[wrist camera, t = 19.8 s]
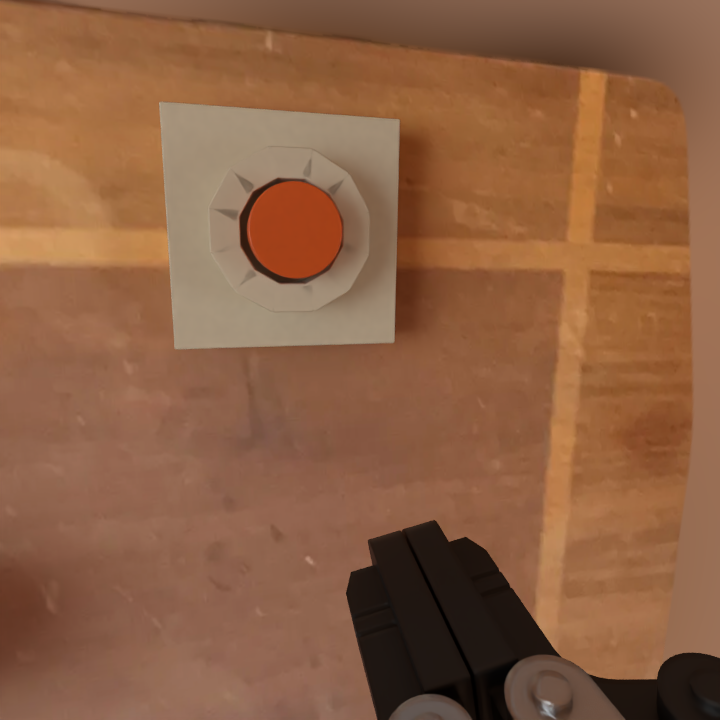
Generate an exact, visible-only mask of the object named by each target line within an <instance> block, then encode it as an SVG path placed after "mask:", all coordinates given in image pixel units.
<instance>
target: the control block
mask: <svg viewBox="0 0 720 720" xmlns="http://www.w3.org/2000/svg"><path fill="white" fill-rule="evenodd" d="M159 107H160V123H161V139H162V155H163V170H164V186H165V202H166V218H167V234H168V250H169V265H170V281H171V297H172V313H173V329H174V344H175V349H206V348H240V347H273V346H307V345H340V344H374V343H394V341H395V301H396V261H397V221H398V181H399V141H400V120H399V119H389V118H376V117H362V116H349V115H335V114H322V113H308V112H295V111H282V110H268V109H255V108H241V107H228V106H214V105H201V104H188V103H174V102H159ZM287 181H300V182H305V183H308V184H311V185H313V186H315V187H317V188H319V189H320V190H322V191H323V192H324V193H325V194H326V195H328V196H329V198H330V199H331V200H332V201H333V203H334V204H335V206H336V208H337V210H338V212H339V214H340V218H341V222H342V231H343V232H342V241H341V245H340V248H339V251H338V253H337V255H336V257H335V258H334V260H333V261H332V262H331V263H330V265H329V266H327V267H326V268H325V269H324V270H323V271H321V272H320V273H318V274H316V275H313V276H310V277H306V278H299V279H295V278H287V277H283V276H280V275H278V274H276V273H274V272H272V271H270V270H268V269H267V268H265V267H264V266H263V265H262V264H261V263H260V262H259V261H258V260H257V259H256V257H255V256H254V254H253V252H252V250H251V248H250V245H249V242H248V238H247V222H248V218H249V214H250V211H251V209H252V207H253V205H254V203H255V202H256V200H257V199H258V197H259V196H260V195H261V194H262V193H263V192H264V191H266V190H267V189H268V188H270V187H272V186H274V185H276V184H279V183H282V182H287Z"/></svg>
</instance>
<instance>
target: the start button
mask: <svg viewBox="0 0 720 720" xmlns="http://www.w3.org/2000/svg"><path fill="white" fill-rule="evenodd" d="M342 232H343V231H342V222H341V218H340V214H339V212H338V210H337V208H336V206H335V204H334V203H333V201H332V200H331V199H330V198H329V196H328V195H326V194H325V193H324V192H323V191H322V190H320V189H319V188H317V187H315V186H313V185H311V184H308V183H305V182H300V181H287V182H282V183H279V184H276V185H274V186H272V187H270V188H268V189H267V190H266V191H264V192H263V193H262V194H261V195H260V196H259V197H258V199H257V200H256V202H255V203H254V205H253V207H252V209H251V211H250V214H249V218H248V222H247V238H248V242H249V245H250V248H251V250H252V252H253V254H254V256H255V257H256V259H257V260H258V261H259V262H260V263H261V264H262V265H263V266H264V267H265V268H267V269H268V270H270V271H272V272H274V273H276V274H278V275H280V276H283V277H287V278H295V279H299V278H306V277H310V276H313V275H316V274H318V273H320V272H321V271H323V270H324V269H325V268H326V267H327V266H329V265H330V263H331V262H332V261H333V260H334V258H335V257H336V255H337V253H338V251H339V248H340V245H341V241H342Z"/></svg>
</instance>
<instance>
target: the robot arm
mask: <svg viewBox="0 0 720 720" xmlns="http://www.w3.org/2000/svg"><path fill="white" fill-rule="evenodd" d="M368 545H369V550H370V555H371V560H372V565H373V566H370V567H366V568H363V569H360V570H357V571H353V572H351V575H350V579H349V583H348V587H347V592H346V596H347V600H348V604H349V608H350V612H351V617H352V621H353V625H354V629H355V633H356V638H357V642H358V646H359V650H360V654H361V658H362V662H363V666H364V670H365V673H366V677H367V681H368V685H369V689H370V693H371V697H372V701H373V704H374V708H375V712H376V716H377V720H720V658H717V657H714V656H711V655H707V654H701V653H682V654H678V655H675V656H673V657H670V658H669V659H668V660H666V661H665V662H664V663H663V664H662V666H661V667H660V669H659V672H658V677H657V679H648V680H615V679H605V678H599V677H596V676H592V675H589V674H587V673H586V672H585V671H584V670H583V669H581V668H580V667H579V666H577V665H576V664H574V663H572V662H571V661H568V660H566V659H564V658H562V657H561V656H560V655H559V654H558V653H557V652H556V651H555V649H554V648H553V647H552V645H551V644H550V642H549V641H548V640H547V638H546V637H545V635H544V634H543V632H542V631H541V629H540V628H539V626H538V625H537V624H536V622H535V621H534V619H533V618H532V616H531V615H530V613H529V612H528V611H527V609H526V608H525V606H524V605H523V603H522V602H521V600H520V599H519V597H518V596H517V595H516V593H515V592H514V590H513V589H512V588H510V585H509V583H508V581H507V580H506V579H505V577H504V576H503V574H502V573H501V572H500V571H499V568H498V567H497V565H496V564H495V563H494V561H493V560H492V558H491V557H490V555H489V554H488V552H487V551H486V550H485V549H484V548H482V547H481V546H479V545H477V544H476V543H474V542H473V541H471V540H470V539H468V538H467V537H464V538H461V539H457V540H454V541H451V542H449V541H448V540H447V538H446V536H445V535H444V533H443V531H442V530H441V528H440V526H439V525H438V523H437V522H436V521H435V520H433V521H429V522H426V523H423V524H419V525H416V526H413V527H409V528H406V529H403V530H402V532H401V531H396V532H393V533H390V534H386V535H383V536H379V537H376V538H373V539H369V540H368Z"/></svg>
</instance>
